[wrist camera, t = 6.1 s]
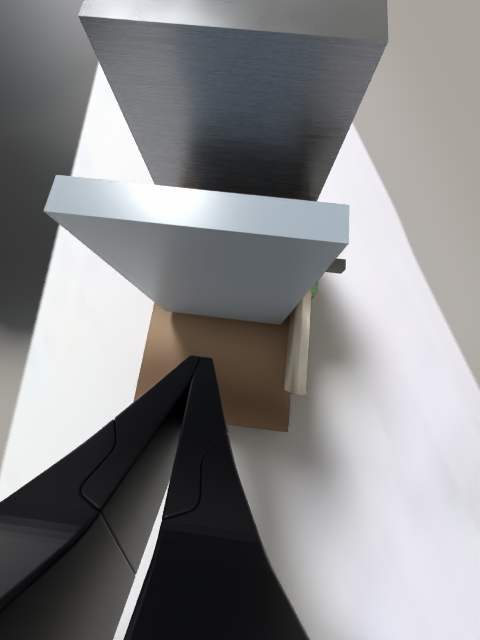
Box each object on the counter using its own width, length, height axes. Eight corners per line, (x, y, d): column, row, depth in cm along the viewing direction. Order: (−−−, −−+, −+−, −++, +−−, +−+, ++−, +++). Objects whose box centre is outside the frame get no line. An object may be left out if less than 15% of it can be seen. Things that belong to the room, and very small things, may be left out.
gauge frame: (287, 426, 15) (309, 451, 10) (142, 407, 15) (97, 423, 10) (301, 223, 18) (322, 170, 13) (182, 211, 18) (161, 155, 13)
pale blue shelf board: (317, 329, 14) (453, 254, 5) (166, 312, 14) (44, 210, 5) (320, 269, 15) (441, 114, 6) (178, 253, 15) (88, 82, 6)
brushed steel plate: (301, 235, 16) (388, 40, 7) (171, 221, 16) (78, 15, 7) (303, 209, 16) (387, -6, 7) (176, 196, 17) (95, -29, 7)
